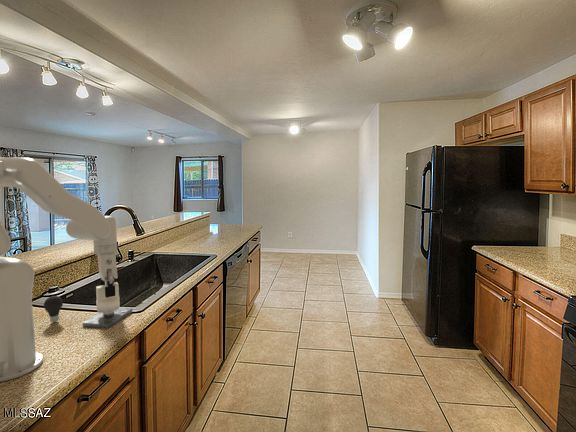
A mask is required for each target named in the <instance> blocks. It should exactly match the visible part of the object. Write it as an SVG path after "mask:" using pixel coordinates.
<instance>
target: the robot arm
mask: <svg viewBox="0 0 576 432" xmlns="http://www.w3.org/2000/svg"><path fill="white" fill-rule="evenodd" d="M0 187H1V188H2V187H4V188H5V187H6V188H17V189H18V190H20V191H21V192H22V193H23V194H24V195H26V196H27V197H28V198H29V199H30V200H32V202H33V203H35V204H36V205H38V207H39V208H41V210H43V211H45V212H48V213H50V214H52V215H55V216H58V217H62V218H65V219H68V220H70V221H68V223H67V225H66V227H65V231H66V234H67V235H68V236H70V238H73V239H75V240H76V239H77V240H90V241H93V254H94V255H97V263H98V264H97V265H98V275H99V277H100V286H102V285H106V287H105V297H106V298H107V297H112V296H115V280H116V279H118V276H119V275H118V267H117V259H116V254H117V253H118V240H117V239H118V238H117V220H116V218H115V216H112V215H104V214H103V213H102V212H101V211H100V210H99V209H97V207H95V206H93V205H92V204H91V203H88V202H87V201H85V200H84V199H82V198H80V197H78V196H76V195H75V194H72V193H71V192H69V191H68V190H67V188H65V187H64V186H63V185H62V184H61V183H60V182H59V181H58V180H57V179H56V178H55V177H54V176H53V175H52V174H51V173H50V172H49V171H48V170H47V169H46V168H45V167H44V166H43V165H42V164H41V163H40V162H38V161H37V160H35V159H33V158H30V157H22V156H21V157H20V156H19V157H3V156H2V157H1V156H0ZM11 245H12V242H11V238H10V236H9V233H8V231H7V230H6V228H5V226H4V224H3V222H2V220H1V219H0V382H6V381H11V380H14V379H17V378H20V377H22V376H24V375H26V374H29V373H31V372H33V371H34V370H36V369H37V368H38V367H40V365H42V363H43V361H44V356H43V354H42V353H40V352H36V351H37V350H36V341H35V340H36V338H35V329H34V327H35V326H34V325H35V324H34V314H33V313H34V312H33V299H32V298H33V289H34V288H33V287H34V283H35V282H34V281H35V270H34V268H33V266H32V265H31V264H30V263H29V262H27V261H26V260H23V259H20V258H17V257H9V256H8V257H7V256H5V254H7V253H8V252H9V251H10V249H11Z"/></svg>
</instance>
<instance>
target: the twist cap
mask: <svg viewBox="0 0 576 432" xmlns="http://www.w3.org/2000/svg"><path fill="white" fill-rule="evenodd" d="M114 283H115V296H112V297H107V298H106V297H105V287H106V285H102V286H101V285H97V286H95V293H96V294H95V295H96V301H95V303H96V305H95V306H96V312H98V313H100V312H102V313H103V312H111V311H114V310H117V309H118V308H121V307H120V306H121V305H120V304H121V303H120V288H119V285H120V284H119V283H118V281H116V282H115V281H114Z"/></svg>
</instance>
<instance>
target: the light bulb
mask: <svg viewBox="0 0 576 432" xmlns="http://www.w3.org/2000/svg"><path fill="white" fill-rule="evenodd" d="M63 302H64V301H63V298H61V297H60V296H58V295H52V296H49V297H48V298H46V299H45V301H44V302H43V309H44V310H45V311H46V312H47V313H48V316H49V320H50V322H51V323H56V322H57V321H59V317H60V316H59V314H60V311H61V309H62V307H63V304H64V303H63Z"/></svg>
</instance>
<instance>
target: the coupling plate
mask: <svg viewBox="0 0 576 432" xmlns="http://www.w3.org/2000/svg"><path fill="white" fill-rule="evenodd" d="M132 313H133V308H130V307H129V308H128V307H119V308H118V309H117V310H114V311H111V312H103V313H102V312H98V313H97V314H94V315H93V316H91V317H90V318H88V319H87V320H85V321H83V322H82V327H83V328H96V329H110V328H111V327H113V326H114V325H116V324H117V323H119V322H120V321H122V320H123V319H125V318H126V317H127V316H129V315H130V314H132Z"/></svg>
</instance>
